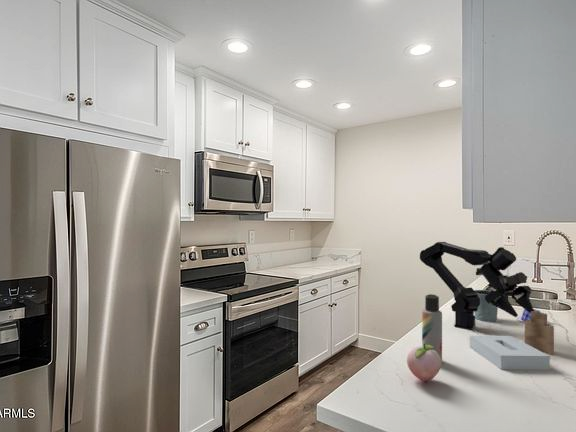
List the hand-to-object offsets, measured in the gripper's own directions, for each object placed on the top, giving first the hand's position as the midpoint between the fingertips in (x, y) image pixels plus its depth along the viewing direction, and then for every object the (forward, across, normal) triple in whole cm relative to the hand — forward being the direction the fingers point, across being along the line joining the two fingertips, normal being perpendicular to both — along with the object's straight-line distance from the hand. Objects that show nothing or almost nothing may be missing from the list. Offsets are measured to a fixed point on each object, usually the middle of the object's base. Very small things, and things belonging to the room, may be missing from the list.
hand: (525, 315), depth 122 cm
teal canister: (-12, +18, +28) cm, 35 cm away
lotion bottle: (+5, -40, +10) cm, 41 cm away
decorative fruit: (+12, -53, +3) cm, 55 cm away
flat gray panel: (+11, -16, +4) cm, 20 cm away
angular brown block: (+11, 0, +4) cm, 12 cm away
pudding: (-5, +34, +21) cm, 40 cm away
